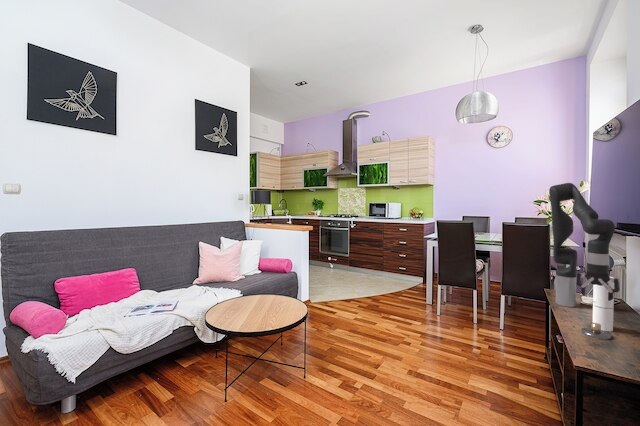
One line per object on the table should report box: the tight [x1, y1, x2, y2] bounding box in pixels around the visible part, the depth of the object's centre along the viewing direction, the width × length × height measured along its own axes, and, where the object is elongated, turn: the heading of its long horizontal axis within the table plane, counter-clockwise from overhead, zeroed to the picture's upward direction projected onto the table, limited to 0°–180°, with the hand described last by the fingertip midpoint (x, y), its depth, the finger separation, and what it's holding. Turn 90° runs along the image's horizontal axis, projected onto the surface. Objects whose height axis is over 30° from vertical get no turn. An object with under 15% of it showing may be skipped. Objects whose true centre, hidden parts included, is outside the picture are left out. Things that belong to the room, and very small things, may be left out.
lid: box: [581, 322, 612, 341], centre depth 135 cm, size 10×10×5 cm
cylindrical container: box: [592, 275, 615, 332], centre depth 141 cm, size 7×7×25 cm
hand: (596, 297), depth 134 cm, fingers open, 8 cm apart
